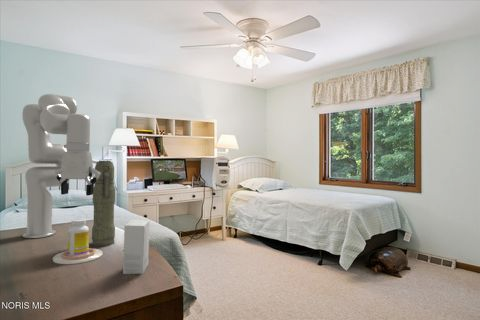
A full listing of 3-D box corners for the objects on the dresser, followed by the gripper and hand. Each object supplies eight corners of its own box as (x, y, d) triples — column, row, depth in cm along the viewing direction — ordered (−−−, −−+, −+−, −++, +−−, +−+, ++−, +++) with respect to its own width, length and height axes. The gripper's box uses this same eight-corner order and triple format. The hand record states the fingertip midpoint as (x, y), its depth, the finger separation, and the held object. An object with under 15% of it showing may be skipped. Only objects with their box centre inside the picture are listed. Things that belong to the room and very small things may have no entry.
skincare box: (129, 265, 101) (130, 219, 101) (149, 265, 102) (150, 219, 102) (122, 274, 93) (123, 224, 93) (144, 274, 93) (144, 224, 93)
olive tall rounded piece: (96, 248, 119) (98, 161, 119) (88, 242, 128) (89, 160, 127) (119, 244, 125) (120, 161, 125) (109, 238, 133) (110, 160, 133)
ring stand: (47, 256, 109) (47, 251, 109) (94, 247, 120) (94, 243, 120) (59, 267, 97) (59, 263, 97) (109, 257, 109) (109, 252, 109)
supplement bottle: (92, 253, 111) (93, 218, 111) (79, 258, 105) (79, 222, 105) (77, 251, 113) (78, 217, 113) (63, 257, 106) (63, 221, 106)
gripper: (48, 147, 107) (47, 194, 107) (94, 148, 105) (93, 196, 105) (63, 148, 114) (62, 192, 114) (105, 149, 112) (104, 194, 113)
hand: (77, 194), depth 110 cm, fingers open, 9 cm apart
